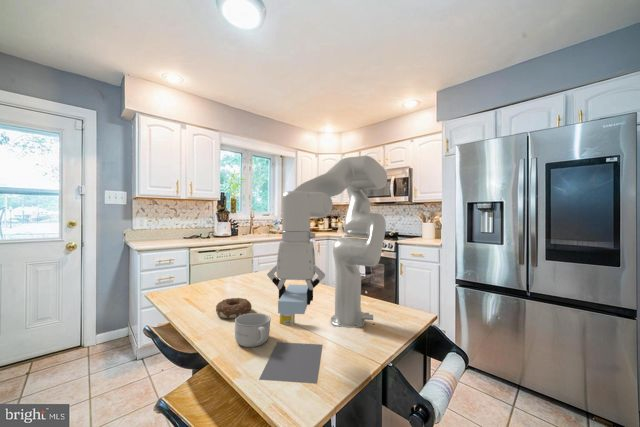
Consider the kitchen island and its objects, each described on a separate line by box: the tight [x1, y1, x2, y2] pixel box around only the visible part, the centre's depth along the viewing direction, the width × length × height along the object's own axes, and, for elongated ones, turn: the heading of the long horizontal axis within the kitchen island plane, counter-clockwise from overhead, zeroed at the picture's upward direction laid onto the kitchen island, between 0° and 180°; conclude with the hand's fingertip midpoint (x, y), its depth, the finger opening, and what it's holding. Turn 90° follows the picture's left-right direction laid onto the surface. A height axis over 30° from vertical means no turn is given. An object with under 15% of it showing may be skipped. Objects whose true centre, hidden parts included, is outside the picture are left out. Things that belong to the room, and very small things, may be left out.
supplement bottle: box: [279, 313, 296, 326], centre depth 96 cm, size 5×5×10 cm
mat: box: [259, 341, 323, 384], centre depth 72 cm, size 14×18×1 cm
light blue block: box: [277, 284, 309, 315], centre depth 72 cm, size 6×14×3 cm, turn 175°
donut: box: [215, 297, 253, 319], centre depth 106 cm, size 14×14×5 cm
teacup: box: [234, 312, 272, 348], centre depth 81 cm, size 14×11×8 cm
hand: (295, 302), depth 72 cm, fingers closed on light blue block, 6 cm apart
